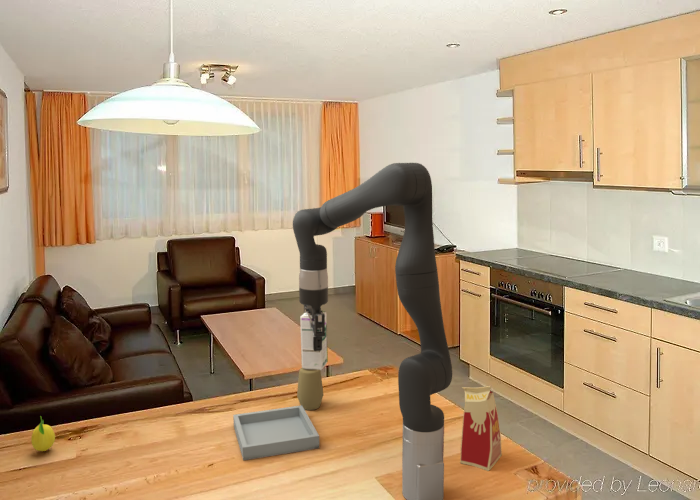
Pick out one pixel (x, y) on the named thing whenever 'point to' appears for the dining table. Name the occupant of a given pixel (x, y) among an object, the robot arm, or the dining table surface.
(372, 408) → the dining table surface
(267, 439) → the tray
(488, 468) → the milk carton
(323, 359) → the syrup box
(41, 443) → the lemon
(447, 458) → the dining table surface
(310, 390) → the squeeze bottle
